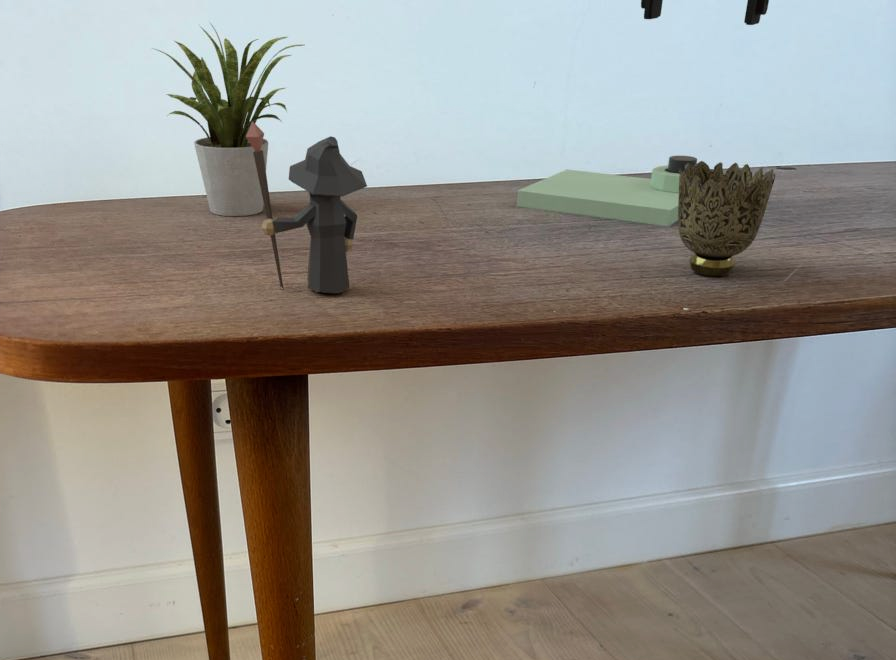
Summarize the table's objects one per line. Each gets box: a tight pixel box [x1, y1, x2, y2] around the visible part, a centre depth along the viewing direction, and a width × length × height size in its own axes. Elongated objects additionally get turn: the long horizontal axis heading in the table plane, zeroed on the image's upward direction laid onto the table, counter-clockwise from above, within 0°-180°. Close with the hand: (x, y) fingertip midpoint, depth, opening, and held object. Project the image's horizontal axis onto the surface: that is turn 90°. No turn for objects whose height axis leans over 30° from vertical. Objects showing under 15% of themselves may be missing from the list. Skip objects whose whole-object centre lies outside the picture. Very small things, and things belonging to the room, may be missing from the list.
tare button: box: [667, 155, 698, 174], centre depth 107 cm, size 3×3×2 cm
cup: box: [677, 160, 776, 277], centre depth 86 cm, size 8×7×8 cm
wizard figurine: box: [246, 121, 368, 294], centre depth 79 cm, size 8×6×12 cm
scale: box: [516, 164, 679, 227], centre depth 108 cm, size 16×13×3 cm
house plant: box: [151, 22, 304, 217], centre depth 100 cm, size 14×14×16 cm
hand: (700, 21), depth 100 cm, fingers open, 9 cm apart
